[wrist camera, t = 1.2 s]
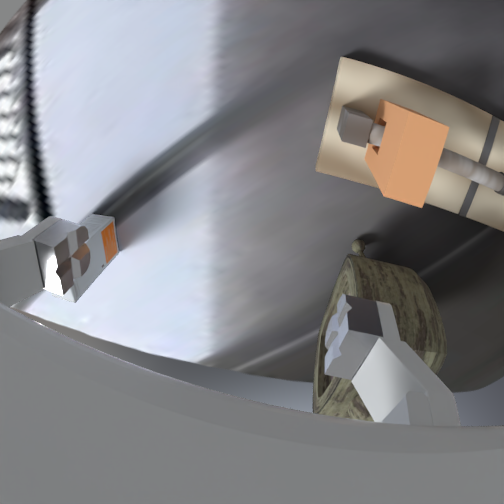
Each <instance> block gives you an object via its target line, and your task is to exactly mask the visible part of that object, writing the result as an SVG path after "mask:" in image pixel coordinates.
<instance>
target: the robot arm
mask: <svg viewBox="0 0 504 504" xmlns="http://www.w3.org/2000/svg"><path fill="white" fill-rule="evenodd" d="M88 239H89V235H88V229H87V228H86V227H85V226H83V225H80V224H76V223H73V222H70V221H67V220H63V219H60V218H57V217H48V218H46V219H45V220H44V221H42V222H41V223H39V224H38V225H36V226H35V227H33V228H32V229H31V230H29V231H28V232H26V233H25V234H23V235H22V236H19V235H17V236H13V237H10V238H6V239H2V240H0V504H504V425H502V426H471V427H470V426H468V427H467V426H466V427H465V426H464V427H462V426H461V423H460V419H459V414H458V410H457V406H456V403H455V399H454V395H453V393H452V392H451V391H450V390H449V389H448V388H447V387H446V386H445V385H444V383H443V382H442V381H441V380H440V379H439V378H438V377H437V376H436V375H435V373H434V372H433V371H432V370H431V369H430V368H429V367H428V366H427V365H426V364H425V363H424V362H423V360H422V359H421V358H420V357H419V356H418V355H417V354H416V353H415V352H414V351H413V350H412V349H411V348H410V346H409V345H408V344H407V343H406V342H404V341H401V340H400V336H399V332H398V328H397V324H396V320H395V316H394V312H393V309H392V306H391V305H390V304H389V303H384V302H379V301H373V300H368V299H364V298H359V297H355V296H350V295H346V294H342V296H341V297H340V299H339V301H338V304H337V313H336V314H335V315H333V316H332V317H331V320H330V322H329V324H328V328H327V331H326V337H325V347H326V348H327V349H328V352H327V354H326V356H325V375H330V376H334V377H339V378H344V379H349V380H352V381H351V382H352V383H353V385H354V387H355V389H356V390H357V392H358V394H359V395H360V397H361V399H362V401H363V402H364V404H365V406H366V408H367V409H368V411H369V413H370V415H371V416H372V418H373V420H374V422H373V421H364V420H356V419H348V418H341V417H334V416H328V415H321V414H315V413H310V412H304V411H298V410H293V409H288V408H284V407H279V406H274V405H269V404H265V403H260V402H256V401H252V400H248V399H244V398H240V397H236V396H232V395H228V394H225V393H221V392H217V391H214V390H210V389H207V388H203V387H200V386H197V385H193V384H190V383H187V382H184V381H181V380H177V379H174V378H171V377H168V376H165V375H162V374H159V373H156V372H154V371H151V370H148V369H145V368H142V367H140V366H137V365H134V364H132V363H129V362H126V361H124V360H121V359H119V358H116V357H114V356H111V355H109V354H106V353H103V352H101V351H98V350H96V349H94V348H92V347H89V346H87V345H85V344H83V343H80V342H78V341H76V340H73V339H71V338H69V337H67V336H65V335H63V334H61V333H59V332H56V331H54V330H52V329H50V328H48V327H46V326H44V325H42V324H40V323H38V322H36V321H34V320H32V319H30V318H28V317H26V316H25V315H23V314H21V313H19V312H17V311H15V310H14V309H12V308H10V306H12V305H14V304H16V303H18V302H20V301H22V300H24V299H26V298H28V297H30V296H32V295H34V294H36V293H38V292H41V291H43V290H44V289H47V290H49V291H52V292H54V293H57V294H60V295H62V296H63V295H64V294H65V293H66V292H67V291H68V290H69V289H70V288H71V287H72V286H73V285H74V279H76V278H79V277H82V276H83V275H84V274H85V272H86V271H87V269H88V267H89V264H90V258H91V255H90V249H89V248H88V246H87V244H86V243H87V241H88Z"/></svg>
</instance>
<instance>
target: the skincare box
mask: <svg viewBox="0 0 504 504" xmlns="http://www.w3.org/2000/svg"><path fill="white" fill-rule="evenodd" d="M80 225H83V226H85V227H86V228H87V229H88V235H89V239H88V241H87V243H86V244H87V246H88V248H89V249H90V255H91V258H90V264H89V267H88V269H87V271H86V272H85V274H84V275H83V276H82V277H79V278H76V279H74V285H73V286H72V287H71V288H70V289H69V290H68V291H67V292H66V293H65V294H64V295H63V296H62V295H60V294H57V293H54V292H52V291H51V292H52V295H53V296H55V297H58V298H61V299H64V300H67V301H70V302H74V303H76V302H77V300H78V299H79V298H80V297H81V296H82V295H83V293H84V292H85V291H86V290H87V289H88V288H89V286H90V285H91V284H92V283H93V282H94V281H95V279H96V278H97V277H98V276H99V275H100V274H101V273H102V272H103V270H104V269H105V268H106V267H107V266H108V265H109V264H110V263H111V261H112V260H113V259H114V258H115V257H116V256H117V255H118V254H119V249H118V242H117V236H116V228H115V218H114V217H111V216H103V215H96V214H91V215H90V216H88V217H87V218H86V219H85V220H84V221H82V222H81V223H80Z"/></svg>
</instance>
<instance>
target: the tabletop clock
mask: <svg viewBox="0 0 504 504" xmlns="http://www.w3.org/2000/svg"><path fill="white" fill-rule="evenodd" d="M352 249H353V251H355V252H356V253H359V256H356V255H351V254H348V255H347V257H346V259H345V261H344V263H343V265H342V268H341V270H340V273H339V276H338V278H337V281H336V284H335V286H334V289H333V291H332V294H331V297H330V300H329V303H328V306H327V308H326V311H325V314H324V317H323V320H322V323H321V326H320V330H319V333H318V340H317V348H316V358H315V370H314V386H313V413H315V414H321V415H328V416H334V417H341V418H348V419H356V420H364V421H373V422H374V420H373V418H372V416H371V415H370V413H369V411H368V409H367V408H366V406H365V404H364V402H363V401H362V399H361V397H360V395H359V394H358V392H357V390H356V389H355V387H354V385H353V383H352V382H351V381H352V380H349V379H344V378H339V377H334V376H330V375H325V356H326V354H327V352H328V349H327V348H326V347H325V337H326V331H327V328H328V324H329V322H330V320H331V317H332V316H333V315H335V314H336V313H337V304H338V301H339V299H340V297H341V296H342V294H346V295H350V296H355V297H359V298H364V299H368V300H373V301H379V302H384V303H389V304H390V305H391V306H392V309H393V312H394V316H395V320H396V324H397V328H398V332H399V336H400V340H401V341H404V342H406V343H407V344H408V345H409V346H410V348H411V349H412V350H413V351H414V352H415V353H416V354H417V355H418V356H419V357H420V358H421V359H422V360H423V362H424V363H425V364H426V365H427V366H428V367H429V368H430V369H431V370H432V371H433V372H434V373H435V375H437V373H438V372H439V370H440V369H441V367H442V365H443V363H444V360H445V358H446V355H447V342H446V336H445V331H444V327H443V324H442V320H441V317H440V314H439V311H438V307H437V305H436V303H435V300H434V298H433V296H432V294H431V291H430V289H429V287H428V286H427V285H426V283H425V282H424V281H423V280H422V279H421V278H420V277H419V276H418V274H417V273H416V272H415V271H414V270H412V269H410V268H408V267H404V266H400V265H395V264H391V263H387V262H382V261H378V260H374V259H369V258H366V257H365V255H364V253H363V251H364V249H365V243H364V242H363V241H362V240H361V239H356V240H355V241H354V242H353V243H352Z"/></svg>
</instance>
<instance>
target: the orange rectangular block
mask: <svg viewBox="0 0 504 504" xmlns="http://www.w3.org/2000/svg"><path fill="white" fill-rule="evenodd" d="M374 123H376V124H379V125H382V126H385V130H384V134H383V137H382V141H381V144H380V147H379V146H376V145H373V144H368V148H367V151H366V155H365V158H364V159H365V161H366V163H367V165H368V167H369V169H370V171H371V172H372V174H373V176H374V178H375V180H376V182H377V184H378V186H379V188H380V190H381V192H382V194H383V196H385V197H388V198H391V199H395V200H398V201H401V202H404V203H408V204H411V205H414V206H417V207H420V208H422V207H423V204H424V202H425V199H426V196H427V194H428V191H429V188H430V186H431V183H432V180H433V177H434V174H435V171H436V169H437V166H438V163H439V160H440V157H441V154H442V150H443V147H444V144H445V141H446V138H447V134H448V131H449V128H450V127H448V126H446V125H444V124H442V123H440V122H438V121H436V120H434V119H432V118H429V117H427V116H425V115H423V114H421V113H418V112H416V111H414V110H412V109H409V108H406V107H403V106H401V105H398V104H395V103H392V102H389V101H386V100H383V99H380V102H379V106H378V110H377V114H376V118H375V122H374Z"/></svg>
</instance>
